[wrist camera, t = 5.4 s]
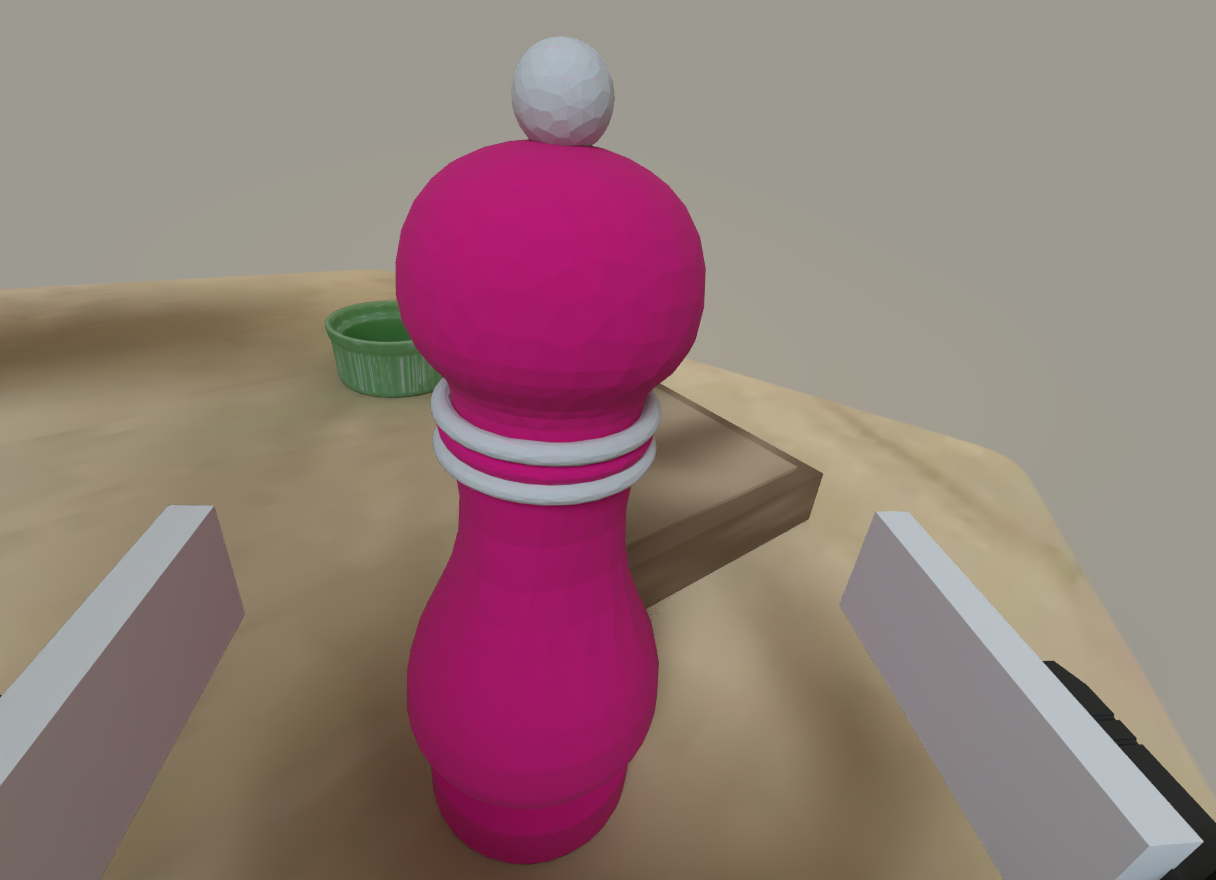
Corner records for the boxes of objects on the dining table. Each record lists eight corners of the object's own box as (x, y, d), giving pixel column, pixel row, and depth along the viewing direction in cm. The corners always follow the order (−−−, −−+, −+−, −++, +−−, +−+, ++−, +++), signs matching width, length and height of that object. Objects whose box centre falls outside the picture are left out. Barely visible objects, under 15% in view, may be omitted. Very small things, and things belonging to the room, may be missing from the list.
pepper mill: (582, 647, 24) (642, 62, 14) (682, 817, 19) (891, 63, 9) (396, 711, 21) (306, 15, 11) (450, 940, 15) (372, -30, 6)
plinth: (460, 470, 34) (459, 420, 33) (642, 415, 42) (648, 374, 41) (614, 626, 25) (622, 568, 24) (808, 518, 33) (824, 470, 32)
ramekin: (475, 361, 48) (475, 308, 46) (435, 411, 40) (432, 350, 38) (368, 347, 49) (362, 294, 47) (307, 393, 41) (297, 332, 39)
